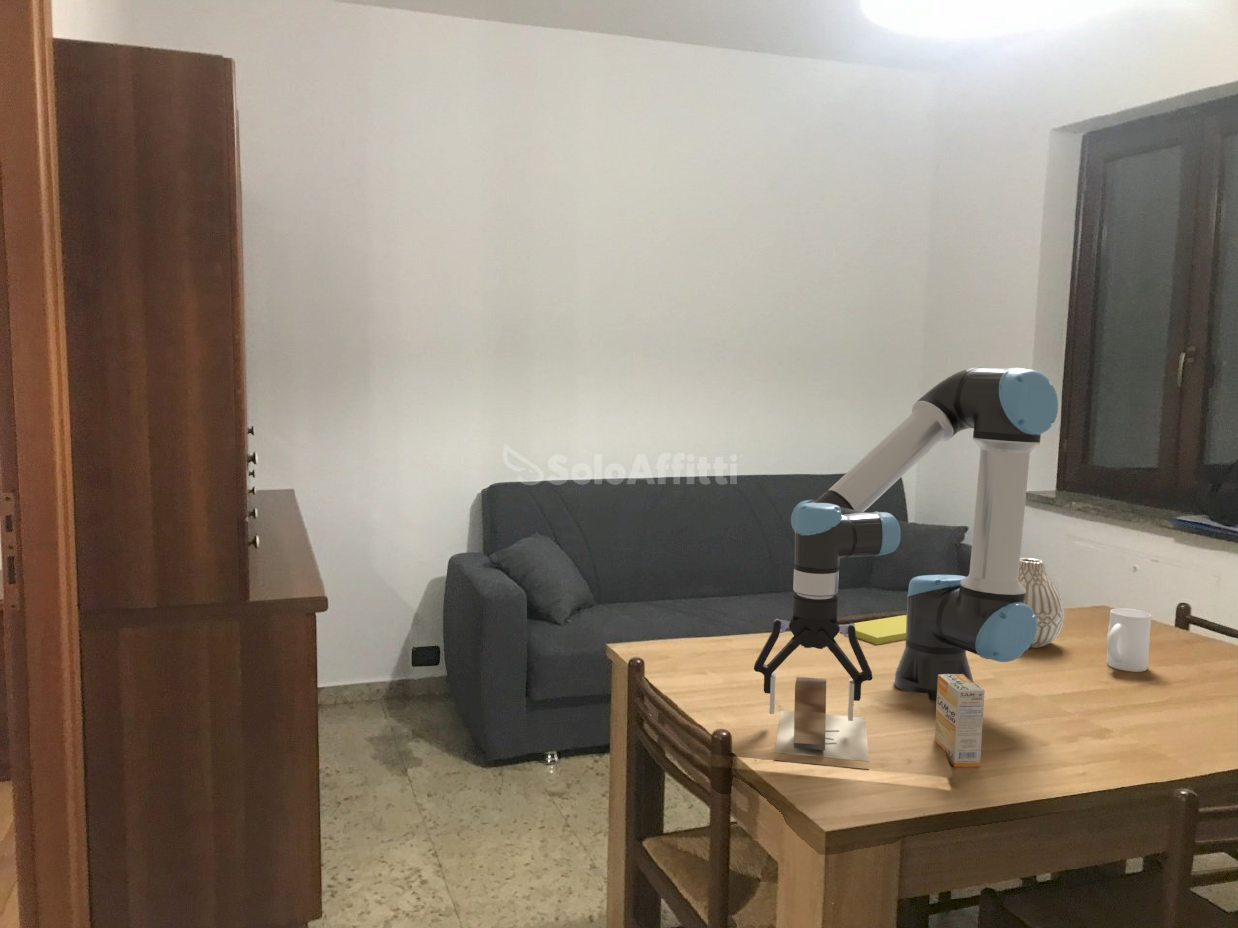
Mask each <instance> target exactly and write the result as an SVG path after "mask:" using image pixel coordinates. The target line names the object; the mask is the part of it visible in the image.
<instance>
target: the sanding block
mask: <svg viewBox="0 0 1238 928" xmlns="http://www.w3.org/2000/svg"><path fill="white" fill-rule="evenodd" d="M826 713H827V678H821V677H805V676H796V678H795V685H794V748H804V749H817V750H825V726H826Z"/></svg>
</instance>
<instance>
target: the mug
mask: <svg viewBox="0 0 1238 928" xmlns="http://www.w3.org/2000/svg"><path fill="white" fill-rule="evenodd" d="M1108 624H1109V625H1108V627H1107V630H1108V632H1107V634H1106V635H1107V637H1106V638H1107V643H1106V650H1107V652H1106V653H1107V654H1106V664H1107V665H1108V666H1109V667H1111V668H1113V669H1115V670H1116V669H1117V670H1119V671H1124V672H1125V671H1126V672H1134V673H1135V672H1136V673H1139V672H1146V671H1148V667H1149V666H1148V665H1149V655H1150V654H1149V653H1150V640H1151V639H1150V637H1151V628H1152V627H1151V625H1152V615H1151V613H1149V612H1146V611H1144V610H1139V609H1134V608H1127V607H1126V608H1124V607H1123V608H1121V607H1120V608H1112V609H1110V612H1109V623H1108Z"/></svg>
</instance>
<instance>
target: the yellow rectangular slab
mask: <svg viewBox="0 0 1238 928" xmlns="http://www.w3.org/2000/svg"><path fill="white" fill-rule="evenodd" d="M906 618H907V614H904V615H903V614H902V615H897V616H891V617H884V618H877V619H871V620H867V621H866V620H865V621H859V622H853V623H854V624H855V633H856V638H857V639H860V640H863V641H865V642H868V643H872V644H874V645H876V646H877V645H883V644H888V643H893V642H899V641H906Z"/></svg>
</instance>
